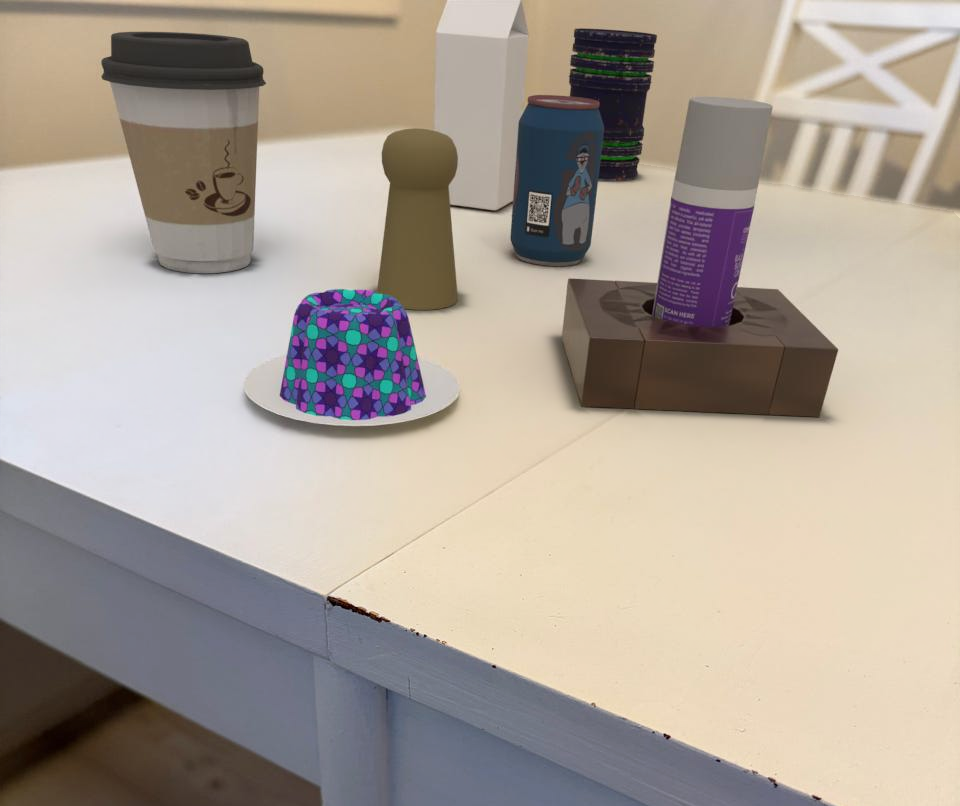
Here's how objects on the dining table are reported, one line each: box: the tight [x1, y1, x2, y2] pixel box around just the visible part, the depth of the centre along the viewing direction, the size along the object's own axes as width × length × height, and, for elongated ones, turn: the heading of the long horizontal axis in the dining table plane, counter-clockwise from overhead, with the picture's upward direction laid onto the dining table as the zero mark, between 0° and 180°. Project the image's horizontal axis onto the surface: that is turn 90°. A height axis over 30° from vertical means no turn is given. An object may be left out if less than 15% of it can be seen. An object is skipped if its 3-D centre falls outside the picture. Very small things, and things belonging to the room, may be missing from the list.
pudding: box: [243, 288, 461, 427], centre depth 52 cm, size 12×12×5 cm
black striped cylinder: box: [568, 27, 658, 182], centre depth 113 cm, size 10×10×15 cm
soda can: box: [509, 94, 604, 267], centre depth 78 cm, size 7×7×12 cm
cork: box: [376, 127, 459, 311], centre depth 66 cm, size 6×6×11 cm
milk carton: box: [433, 0, 530, 211], centre depth 93 cm, size 7×7×19 cm
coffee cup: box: [100, 31, 267, 274], centre depth 70 cm, size 11×11×15 cm
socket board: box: [561, 278, 839, 418], centre depth 58 cm, size 14×12×4 cm
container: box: [652, 96, 774, 327], centre depth 55 cm, size 5×5×15 cm
